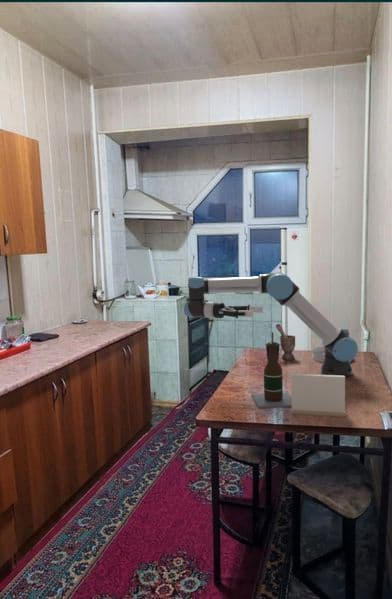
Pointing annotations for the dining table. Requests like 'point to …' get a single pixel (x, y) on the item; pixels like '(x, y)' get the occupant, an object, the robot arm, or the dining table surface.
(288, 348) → the mortar and pestle
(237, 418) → the dining table surface
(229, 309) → the robot arm
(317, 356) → the dish
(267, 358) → the drinking cup
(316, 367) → the dining table surface
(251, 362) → the dining table surface
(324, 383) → the screen
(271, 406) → the mat
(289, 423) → the dining table surface
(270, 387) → the beer bottle
